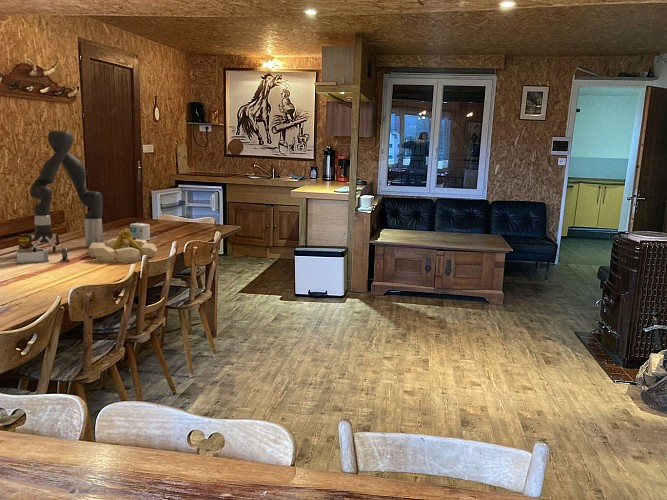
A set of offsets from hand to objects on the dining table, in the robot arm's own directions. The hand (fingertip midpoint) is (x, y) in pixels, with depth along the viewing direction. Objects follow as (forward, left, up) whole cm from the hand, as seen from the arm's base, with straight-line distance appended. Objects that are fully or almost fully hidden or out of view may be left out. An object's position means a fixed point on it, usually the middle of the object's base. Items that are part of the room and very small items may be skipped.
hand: (44, 253), depth 289 cm
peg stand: (-9, +7, -3) cm, 12 cm away
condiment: (+9, -14, -4) cm, 17 cm away
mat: (+6, 0, -3) cm, 7 cm away
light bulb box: (-57, -41, -4) cm, 70 cm away
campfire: (-39, +4, -4) cm, 39 cm away
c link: (+6, 0, -3) cm, 7 cm away
